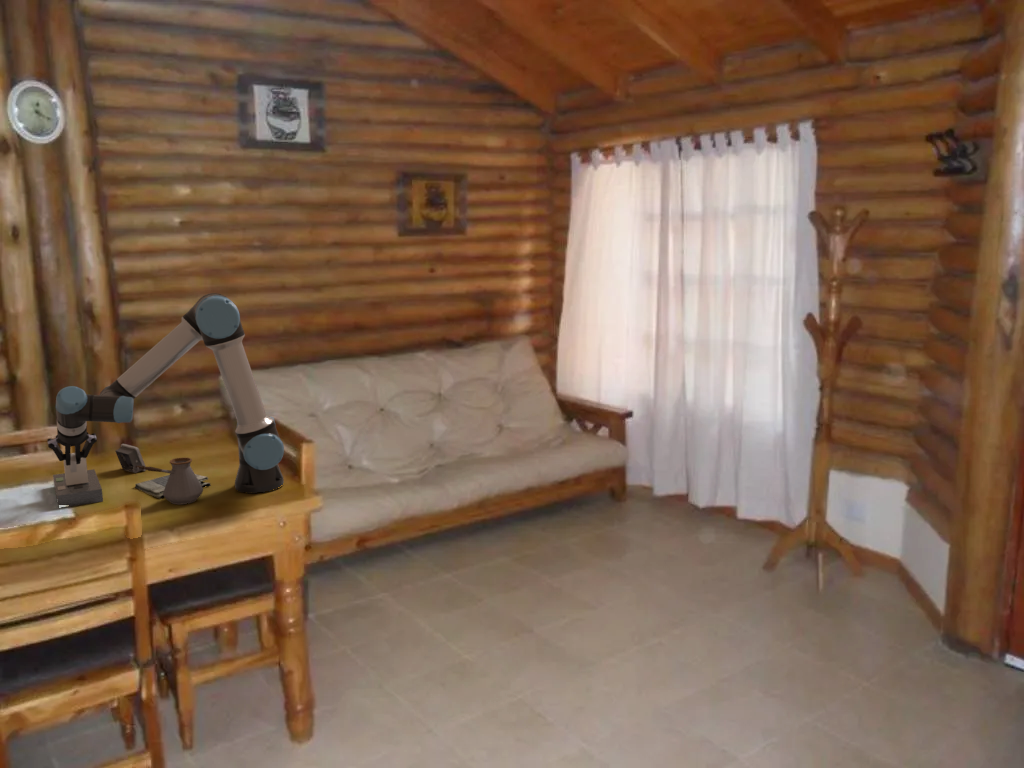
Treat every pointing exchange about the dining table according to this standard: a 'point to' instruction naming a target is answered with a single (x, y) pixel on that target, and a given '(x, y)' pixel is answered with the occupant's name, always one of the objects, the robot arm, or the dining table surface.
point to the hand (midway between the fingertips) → (73, 468)
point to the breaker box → (78, 490)
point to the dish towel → (162, 485)
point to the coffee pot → (179, 482)
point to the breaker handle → (76, 473)
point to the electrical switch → (130, 458)
